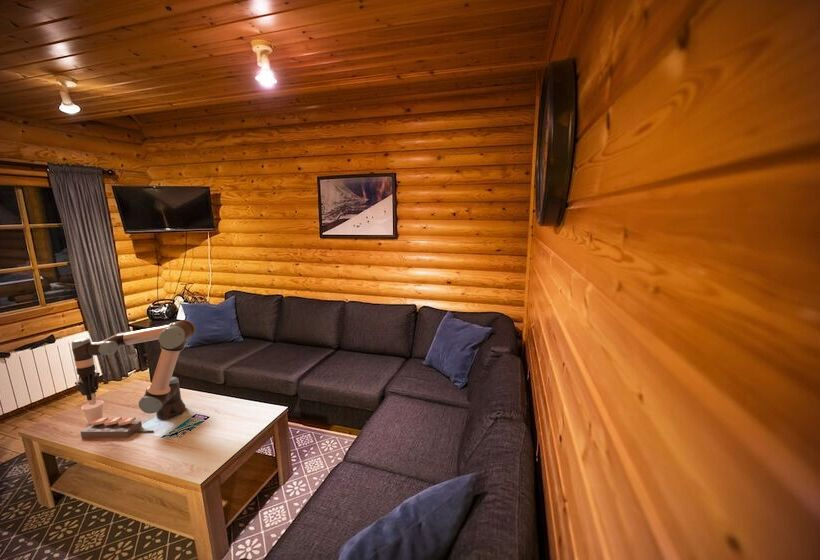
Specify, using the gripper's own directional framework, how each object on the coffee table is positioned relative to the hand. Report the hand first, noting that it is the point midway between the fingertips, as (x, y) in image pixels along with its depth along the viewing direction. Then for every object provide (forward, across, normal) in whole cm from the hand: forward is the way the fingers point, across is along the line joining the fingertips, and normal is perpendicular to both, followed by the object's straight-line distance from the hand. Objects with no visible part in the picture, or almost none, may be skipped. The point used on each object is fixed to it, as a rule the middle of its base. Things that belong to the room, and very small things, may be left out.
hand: (92, 404), depth 191 cm
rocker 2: (+11, +1, +10) cm, 15 cm away
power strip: (+17, +2, +16) cm, 23 cm away
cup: (+17, -9, -10) cm, 21 cm away
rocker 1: (+11, 0, +2) cm, 11 cm away
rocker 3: (+11, +1, +18) cm, 21 cm away
